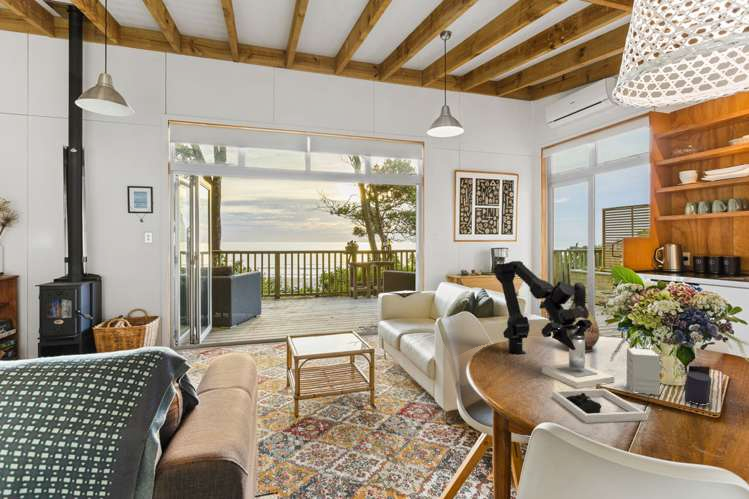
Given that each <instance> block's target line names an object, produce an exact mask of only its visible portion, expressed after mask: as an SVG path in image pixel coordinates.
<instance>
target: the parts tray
mask: <svg viewBox="0 0 749 499" xmlns="http://www.w3.org/2000/svg"><path fill="white" fill-rule="evenodd" d="M582 393H585V395H586V396H588V397H590V398H599V397H602V398H603V397H604V398H606V399H607V400H609V401H610V402H612V403H613V404H615V405H617V406H619V407H620V408H622V409H623V410H625V411H622V412H621V411H620V412H616V411H615V412H599V413H596V412H595V413H592V414H587V413H585V412H584V411H583V410H581V409H580V406H578V405H576V404H575V403H572V402H570V401H569V400H568V399H566V397H569V396H576V395H581V394H582ZM551 397H552V398H553V399H554V400H555V401H556V402H558V403H559V404H560V405H562V406H563V407H564V408H566V409H567V410H568V411H570V412H571V413H572V414H573V415H575V416H576V417H577V418H579V419H580V420H581V421H582V422H584V423H585V424H592V423H593V424H595V423H612V422H613V423H615V422H616V423H617V422H636V421H638V422H639V421H647V412H646V411H645V410H642V409H640V408H638V407H637V406H635V405H634V404H632V403H630V402H628V401H627V400H625V399H623V398H621V397H620V396H618V395H616V394H614V393H612V392H611V391H609V390H607V388H591V389H590V388H589V389H588V388H587V389H585V388H584V389H564V390H563V389H562V390H560V389H559V390H552V391H551Z"/></svg>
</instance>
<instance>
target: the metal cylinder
mask: <svg viewBox="0 0 749 499" xmlns="http://www.w3.org/2000/svg"><path fill="white" fill-rule="evenodd" d="M569 338H570V340H571V342H572V343H573V345H574V347H575V349H574V350H571V349H570V348H569V347H568V364H569V366H570V367H572V368H576V369H583V368H585V366H586V365H585V364H586V352H585V336H584V335H581V334H569Z"/></svg>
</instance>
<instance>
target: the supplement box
mask: <svg viewBox="0 0 749 499" xmlns="http://www.w3.org/2000/svg"><path fill="white" fill-rule="evenodd" d="M660 359H661V356H660V355H659V354H658V353H657V352H656V351H654V350H653V349H646V348H645V349H643V348H632V347H631V348H630V347H629V348H628V347H627V348H626V386H627V385H628V386H629V387H630V388H631V389H632V391H634V392H638V393H637V394H639V393H645V394H644V395H650V394H654V395H653V396H660V395H661V394H660V393H661V392H660V391H661V389H660V387H661V386H660V385H661V383H660V382H661V380H660V378H661V371H660V370H661V368H660V367H661V360H660ZM628 386H627V387H628ZM629 387H628V388H629ZM630 388H629V389H630ZM632 391H631V392H632Z"/></svg>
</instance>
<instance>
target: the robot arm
mask: <svg viewBox="0 0 749 499" xmlns="http://www.w3.org/2000/svg"><path fill="white" fill-rule="evenodd" d="M493 272H494V275H495V278H496V280H498V282H500V284H501V287H502V292H503V296H504V301H505V303H506V307H507V312H508V319H507V321H506V325H507V327H506V328H505V329H504V330H503V332H502V334H503V337H504V339H505V338H506V339H508V348H505V351H507V352H508V353H510V354H511V355H517V354H518V355H521V354H522V355H523V354H526V353H527V352H526V351H524V350H523V348H524V347H523V344H524V343H523V342H524V341H523V339H527V338H528V336H529V332H530V323H529V319H528V317H527V316H524V315H523V314H522V312H521V308H520V305H519V300H518V296H517V292H516V289H515V288H516V287H515V284H514V280H515V277H516V276H518V277H519V278H520V279H521V281H523V282H524V283H525V284H526V285H527V286H528V288H529V292H530V293H531V295H532V296H533V297H534V298H535V299H536V300H541V299H544V300H542V301H540V304H539V309H542V310H543V309H544V310H545V311H546V312H547V314H548V316H549V317H548V321H549V322H547V324H545V325H544V326H543V328H541V335H542V336H543V338H550V337H551V338H552V339H555V340H556V341H558V342H560V343H561V344H563V345H564V346H566V347H567V348H568V349H569V348H570V349H571V350H574V349H575V347H574V345H573V343H572V342H571V340H570V338H569V336H568V335H567V330H571V331H572V332H573V334H581V335H584V332H586V331H587V330H588V329H589V328H590V327H591V326H592V325H593V324H592V323H591V321H590V320H588V319H584V320H579V321H578V322H577V323H576V324H573V322H575V321H576V318H579V317H583V315H584V314H585V311H584V309H583V308H582V307H581V306H578V307H575V308H573V309H569V308H564V307H563V305H566V304H567V302H569V300H570V299H572V297H574V294H575V290H574V289H573V287H574V286H573V287H571V286H570V285H571V284H567V283H565V281H564V280H563V281H562V280H561V281H558V282H557V283H556V285H555V286H553V284H551V283H550V282H548V281H546V280H544V279H541V278H539V277H538V276H536V275H535V274H534V273H533V271H531V270H530V269H529V268H528V267H527V266H526V265H525V264H524V263H523V261H520V260H515V261H514V260H512V261H510V262H506V263H497V264H496V265H495V266H494V268H493ZM568 309H569V310H568ZM552 334H553V335H552ZM584 336H585V335H584ZM586 348H587V344H586V340H585V349H586Z"/></svg>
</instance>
